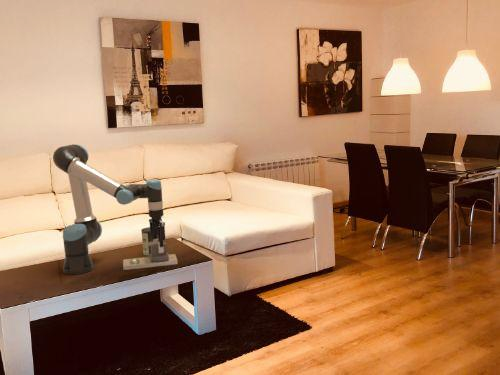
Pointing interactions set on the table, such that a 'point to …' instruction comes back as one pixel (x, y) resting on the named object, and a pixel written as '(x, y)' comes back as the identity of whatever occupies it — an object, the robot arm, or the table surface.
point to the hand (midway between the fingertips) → (158, 251)
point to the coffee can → (146, 241)
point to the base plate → (147, 262)
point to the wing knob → (156, 255)
